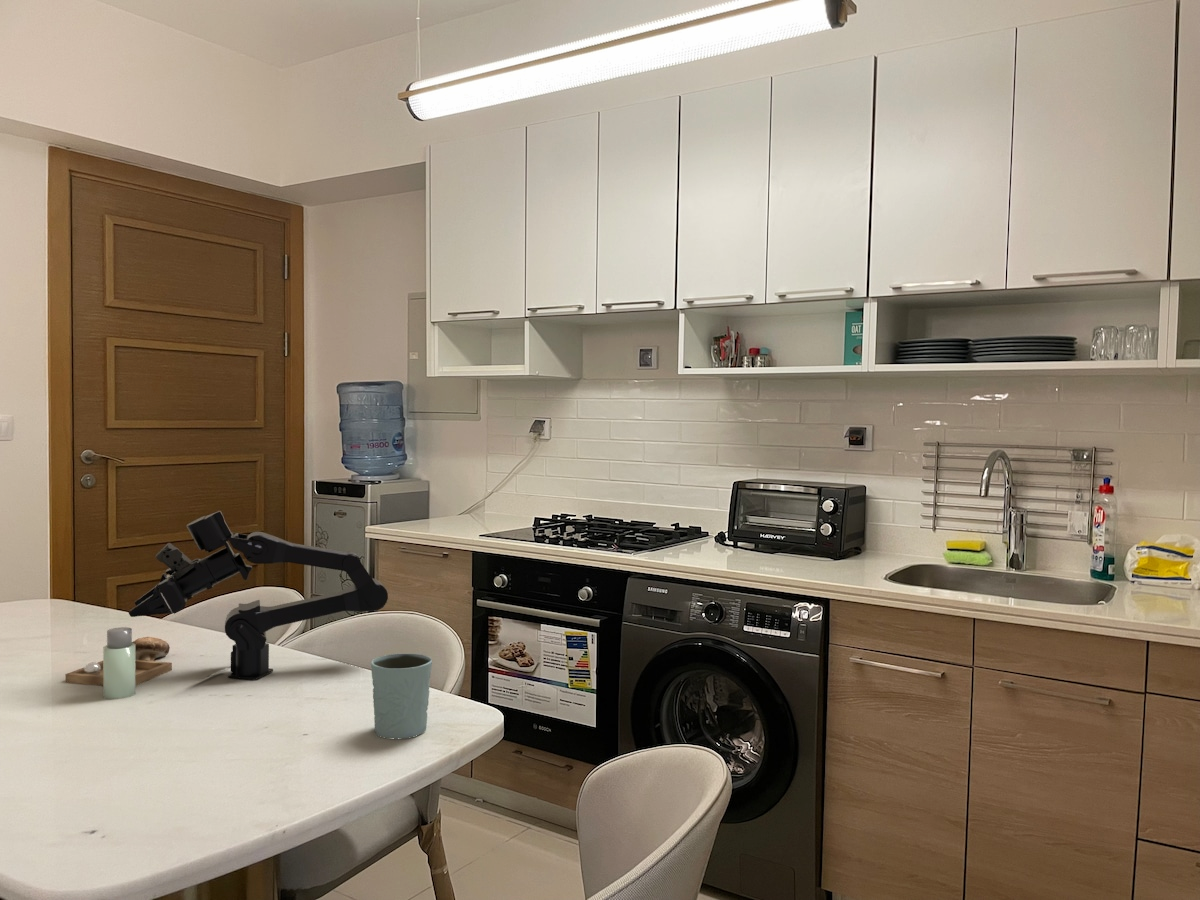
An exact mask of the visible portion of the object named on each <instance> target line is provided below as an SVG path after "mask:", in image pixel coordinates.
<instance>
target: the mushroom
mask: <svg viewBox="0 0 1200 900" xmlns="http://www.w3.org/2000/svg"><path fill="white" fill-rule="evenodd" d="M132 643H134V644H135V660H145V661H155V659H158V658H163V657H166V656H167V655H168V654H170V653H169V652H170V644H169V643H168V642H167V641H166V640H163V639H161V638H158V637H151V636H145V637H137V639H135V640H134V641H133V640H132Z"/></svg>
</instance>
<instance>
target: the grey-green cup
mask: <svg viewBox="0 0 1200 900" xmlns="http://www.w3.org/2000/svg"><path fill="white" fill-rule="evenodd" d="M432 665H433V659H432V658H431V657H430V656H427V655H424V654H419V653H406V652H405V653H393V654H386V655H381V656H379V657H376V658H373V659H371V661H370V668H371V678H372V683H371V684H372V686H373V688H372V699H373V701H372V702H373V703H372V704H373V714H374V717H373V719H374V733H375V732H376V733H375V734H376V735H377V736H378V735H379V736H378V737H380V736H381V737H380V738H382V737H385V738H384V739H386V738H394V739H393V740H399V739H398V738H407V739H410V738H409V737H413V736H416V735H419V734H421V733H423V732H424V731H425V732H426V730H427V723H428V709H429V708H428V707H429V698H430V682H431V675H432ZM425 732H424V733H425ZM424 733H423V734H424ZM421 735H422V734H421ZM419 736H420V735H419ZM416 737H417V736H416ZM413 738H414V737H413Z"/></svg>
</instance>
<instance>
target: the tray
mask: <svg viewBox="0 0 1200 900" xmlns="http://www.w3.org/2000/svg"><path fill="white" fill-rule="evenodd" d="M97 663H98V664H99V665H100V666H101V668H102V671H101V673H100V675H91V674H84V668H85V667H86V666H84V667H82V668H79V669H76V670H73V671H71V672H68V673H65V683H71V684H82V685H94V686H103V660H100V661H98V662H97ZM172 670H173V663H172V662H168V661H166V662H165V661H155V660H154V661H145V660H135V687H136V686H137V685H141V684H142V683H145V682H147V681H150V680H152V679H155V678H157V677H160V676H162V675H164V674H167V673H169V672H171V671H172Z"/></svg>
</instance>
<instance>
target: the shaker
mask: <svg viewBox="0 0 1200 900" xmlns="http://www.w3.org/2000/svg"><path fill="white" fill-rule="evenodd" d="M132 629H133V628H131V627H127V626H125V627H123V626H121V627H113V628H109V629H107V630H106V644H105V645H104V646H103V650H102V653H103V655H102V656H103V657H102V659H103V660H102V661H103V685H102V687H103V688H102V689H103V691H102V692H103V693H102V694H103V698H104V699H106V700H119V699H126V698H129V697H132V696H134V695H136V686H135V644H134V643H132V642H133V640H132V639H133V638H132V637H133V633H132V632H133V631H132Z"/></svg>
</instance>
